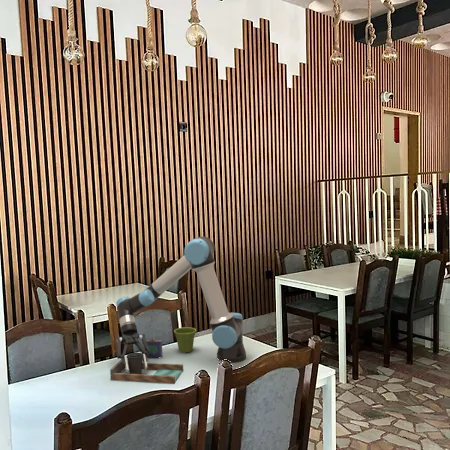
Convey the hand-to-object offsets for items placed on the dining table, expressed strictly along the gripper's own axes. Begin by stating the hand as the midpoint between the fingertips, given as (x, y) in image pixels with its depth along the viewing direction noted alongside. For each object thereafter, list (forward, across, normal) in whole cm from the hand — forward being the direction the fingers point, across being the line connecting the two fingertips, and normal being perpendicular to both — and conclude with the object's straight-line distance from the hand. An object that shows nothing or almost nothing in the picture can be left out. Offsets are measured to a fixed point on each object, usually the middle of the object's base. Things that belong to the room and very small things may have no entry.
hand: (136, 369), depth 230 cm
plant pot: (-15, -32, -21) cm, 41 cm away
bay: (+3, -5, -3) cm, 6 cm away
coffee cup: (0, 0, -5) cm, 5 cm away
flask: (-13, -14, -19) cm, 27 cm away
